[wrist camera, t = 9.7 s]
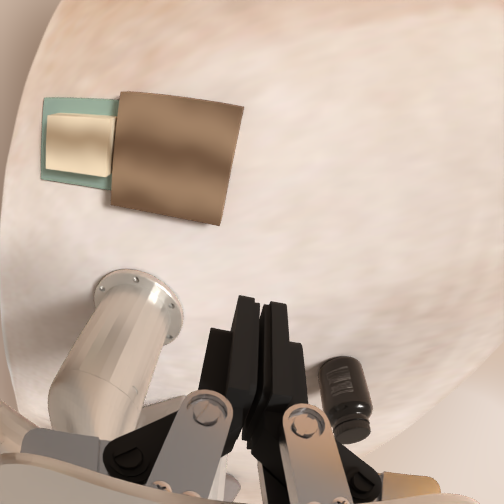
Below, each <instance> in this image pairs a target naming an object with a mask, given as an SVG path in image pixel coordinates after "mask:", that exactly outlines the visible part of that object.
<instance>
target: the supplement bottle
mask: <svg viewBox="0 0 504 504" xmlns="http://www.w3.org/2000/svg"><path fill="white" fill-rule="evenodd" d="M318 380H319V387H320V394H321V401H322V408H323V412H324V413H325V414H326V416H327V418H328V420H329V422H330V425H331V427H332V428H333V433H334V438H335V439H336V440H337V441H339V442H340V443H341V444H352V443H356V442H359V441H361V440H363V439H365V438H366V437H368V436H369V434H370V432H371V430H370V426H369V424H370V423H369V417H370V416H371V414H372V410H373V406H372V402H371V398H370V394H369V391H368V387H367V383H366V380H365V376H364V372H363V369H362V366H361V364H360V362H359V361H358V360H356V359H355V358H352V357H337V358H334V359H332V360H329V361H328V362H326V363H325V364H324V365H323V366H322V367H321V368H320V370H319V373H318Z"/></svg>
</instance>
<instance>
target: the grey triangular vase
mask: <svg viewBox="0 0 504 504" xmlns="http://www.w3.org/2000/svg"><path fill="white" fill-rule="evenodd" d="M185 397H186V396H179V397H176V398H173V399H170V400H166V401H163V402H160V403H156V404H153V405H149V406H146V407H142V410H141V413H140V416H139V419H138V422H137V425H136V429H139V428H141V427H143V426H145V425H148V424H150V423H152V422H154V421H156V420H158V419H161V418H163V417H165V416H167V415H169V414H171V413H173V412H175V411H177V410H179V408H180V405H181V403H182V401H183V400H184V398H185ZM136 429H135V430H136ZM227 458H228V454H226V455H225V456H223V457H221V458H220V461H219V465H218V468H217V471H216V474H215V478H214V481H213V484H212V487H211V491H210V494H209V497H208V499H212V500H219V501H223V499H224V488H225V478H226V468H227Z"/></svg>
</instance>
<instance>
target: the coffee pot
mask: <svg viewBox="0 0 504 504" xmlns="http://www.w3.org/2000/svg"><path fill="white" fill-rule="evenodd" d="M240 488H241V486H240V483H239V482H238V481H237V480H236V479H235V478H234V477H233V476H232V475H230V474H227V473H226V478H225V488H224V499H223V501H227V502H233V501H234V499H235V497H236V496H237V494H238V492H239V491H240Z"/></svg>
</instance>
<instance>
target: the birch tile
mask: <svg viewBox="0 0 504 504" xmlns="http://www.w3.org/2000/svg"><path fill="white" fill-rule="evenodd" d="M116 124H117V116H108V115H95V114H78V113H56V114H52V115H48V116H47V133H46V169H51V170H59V171H66V172H73V173H80V174H87V175H94V176H101V177H107V176H108V175H110V174H111V173H112V169H113V155H114V144H115V133H116Z"/></svg>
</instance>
